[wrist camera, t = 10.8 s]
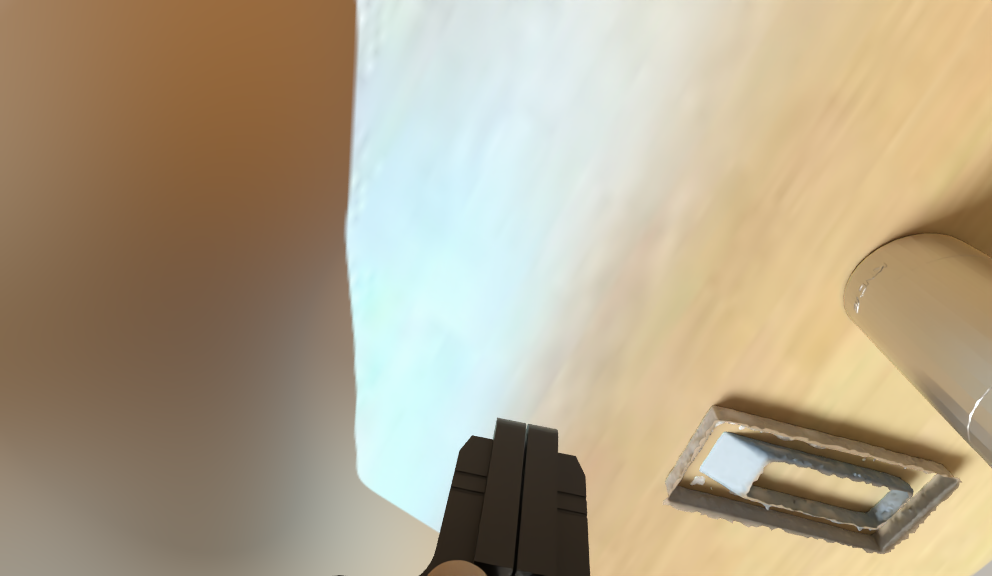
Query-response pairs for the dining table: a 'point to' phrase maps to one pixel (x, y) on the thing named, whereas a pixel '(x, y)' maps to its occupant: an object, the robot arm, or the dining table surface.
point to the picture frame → (743, 463)
